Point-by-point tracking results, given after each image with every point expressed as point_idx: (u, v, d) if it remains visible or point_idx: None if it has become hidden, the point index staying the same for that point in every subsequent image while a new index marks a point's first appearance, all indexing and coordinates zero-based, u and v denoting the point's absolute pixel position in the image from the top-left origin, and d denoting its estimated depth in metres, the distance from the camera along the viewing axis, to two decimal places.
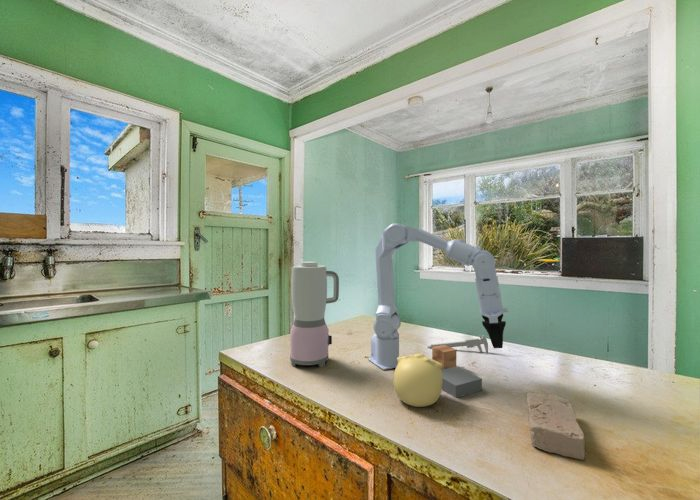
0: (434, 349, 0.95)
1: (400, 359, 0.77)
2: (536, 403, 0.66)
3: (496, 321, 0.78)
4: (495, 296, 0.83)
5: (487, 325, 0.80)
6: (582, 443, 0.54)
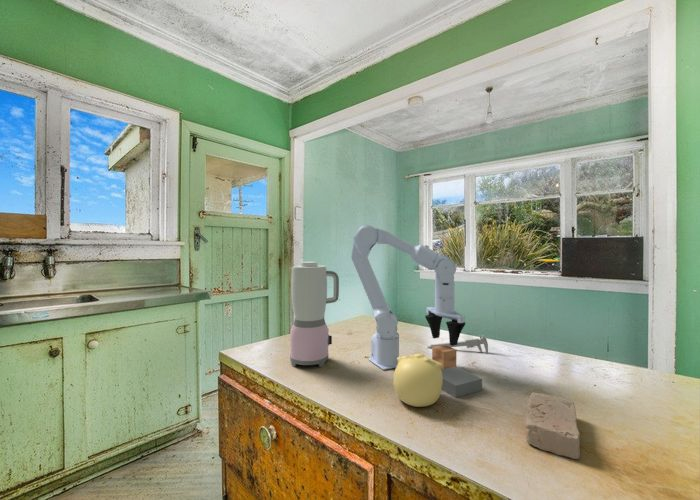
0: (434, 349, 0.95)
1: (400, 359, 0.77)
2: (537, 403, 0.66)
3: (464, 321, 0.88)
4: None
5: (455, 325, 0.88)
6: (576, 443, 0.54)
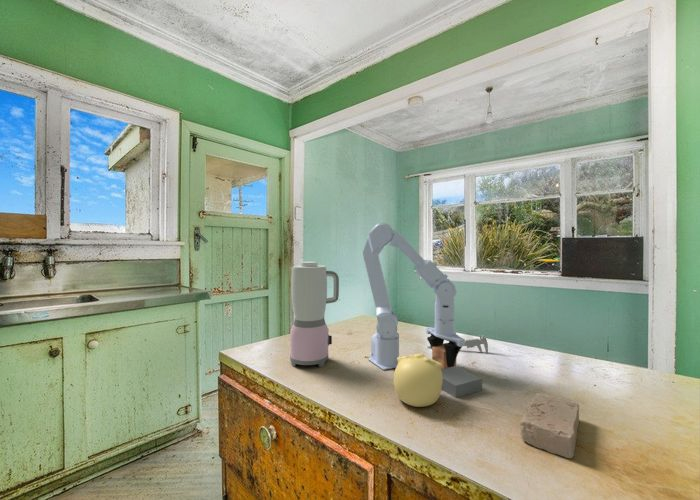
0: (434, 349, 0.95)
1: (400, 359, 0.77)
2: (539, 403, 0.66)
3: (464, 344, 0.88)
4: (453, 321, 0.93)
5: (452, 347, 0.89)
6: (569, 442, 0.54)
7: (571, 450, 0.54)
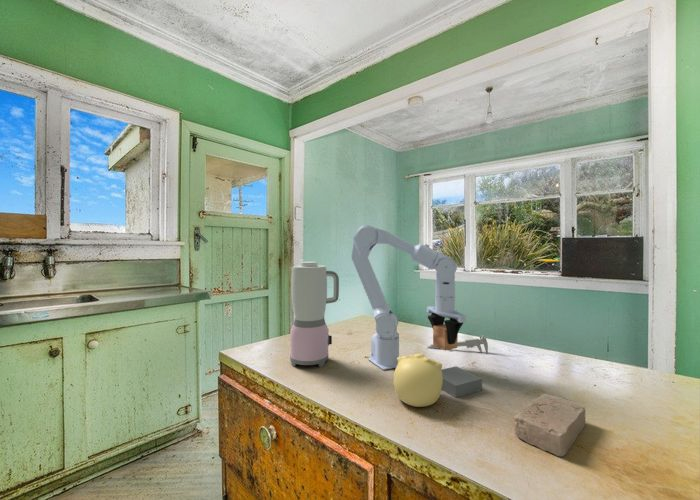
0: (435, 328, 0.94)
1: (400, 359, 0.77)
2: (542, 403, 0.66)
3: (465, 320, 0.88)
4: (454, 298, 0.92)
5: (453, 324, 0.89)
6: (559, 440, 0.55)
7: (561, 448, 0.55)
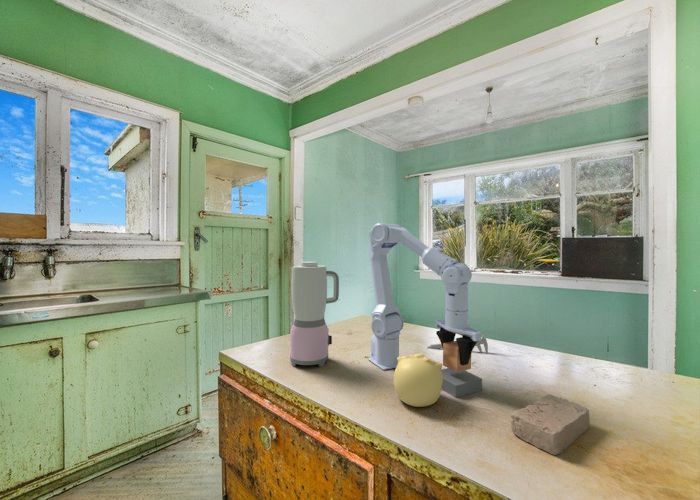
0: (445, 345, 0.82)
1: (400, 359, 0.77)
2: (544, 403, 0.66)
3: (480, 339, 0.76)
4: (467, 312, 0.80)
5: (466, 342, 0.77)
6: (552, 438, 0.55)
7: (555, 446, 0.55)
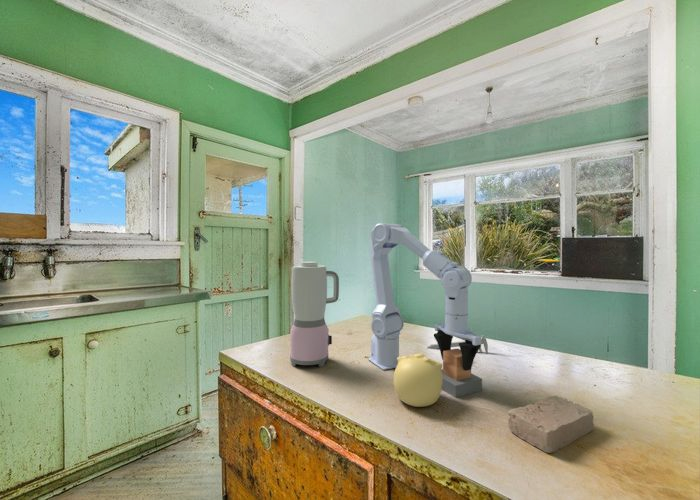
0: (445, 353, 0.83)
1: (400, 359, 0.77)
2: (546, 403, 0.66)
3: (480, 343, 0.76)
4: (467, 316, 0.80)
5: (469, 347, 0.76)
6: (546, 436, 0.56)
7: (548, 445, 0.56)
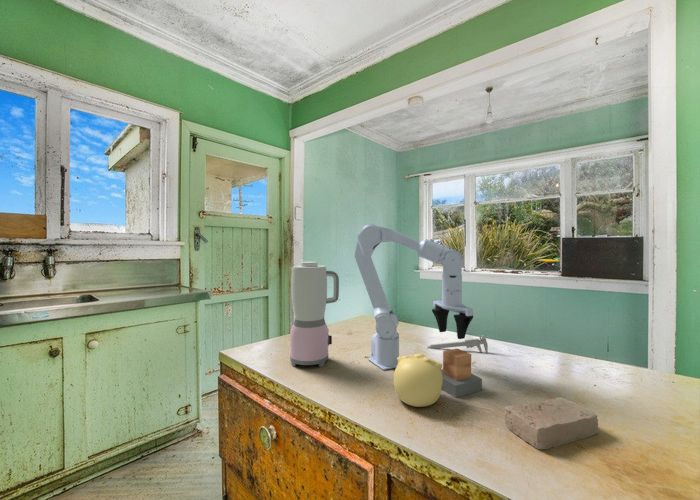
0: (445, 353, 0.83)
1: (400, 359, 0.77)
2: (549, 403, 0.66)
3: (472, 314, 0.87)
4: (461, 292, 0.91)
5: (462, 318, 0.87)
6: (536, 432, 0.57)
7: (539, 441, 0.57)
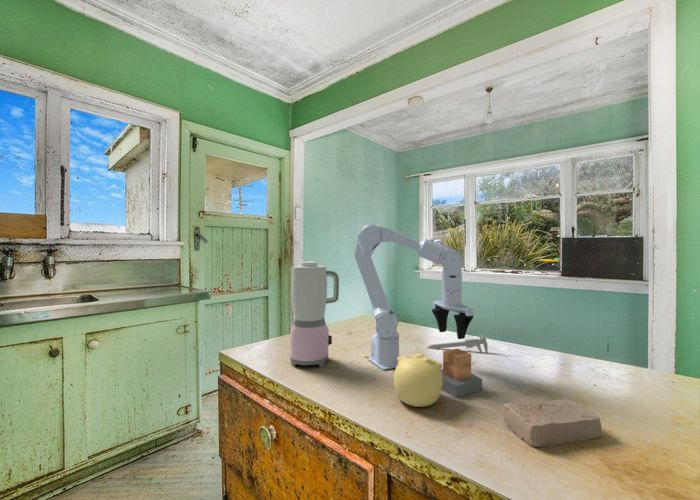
0: (445, 353, 0.83)
1: (400, 359, 0.77)
2: (552, 404, 0.66)
3: (472, 314, 0.87)
4: (461, 292, 0.91)
5: (462, 318, 0.87)
6: (530, 429, 0.58)
7: (532, 438, 0.58)
